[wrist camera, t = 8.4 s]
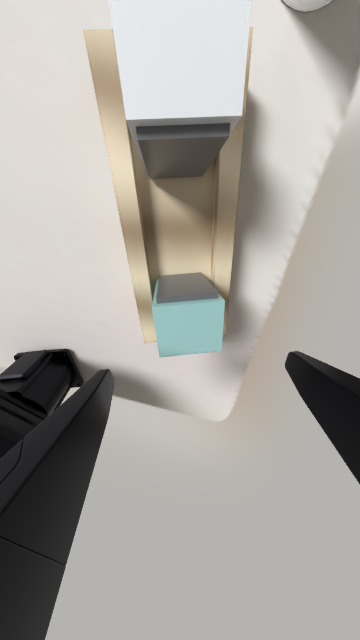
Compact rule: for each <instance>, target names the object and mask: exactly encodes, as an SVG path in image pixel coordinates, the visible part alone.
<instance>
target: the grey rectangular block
mask: <svg viewBox="0 0 360 640" xmlns="http://www.w3.org/2000/svg"><path fill="white" fill-rule="evenodd" d="M251 1H252V0H109V7H110V14H111V21H112V28H113V35H114V41H115V48H116V55H117V62H118V69H119V76H120V83H121V90H122V96H123V103H124V110H125V117H126V121H127V124H128V127H129V130H130V133H131V135H132V138H133V141H134V144H135V147H136V149H137V152H138V155H139V158H140V161H141V163H142V166H143V169H144V172H145V174H148V176H149V179H160V178H179V177H199V176H203V175H204V173H205V172H206V171H207V169H208V168H209V166H210V165H211V163H212V162H213V160H214V159H215V157H216V156H217V154H218V153H219V151H220V150H221V148H222V147H223V145H224V144H225V142H226V141H227V139H228V138H229V136H230V133H231V131H232V130H233V128H234V127H235V125H236V124H237V122H238V121H239V119H240V118H241V116H242V109H243V97H244V85H245V73H246V61H247V49H248V37H249V25H250V13H251Z"/></svg>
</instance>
